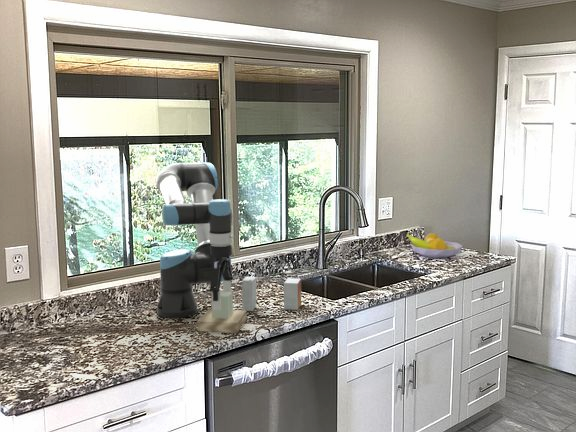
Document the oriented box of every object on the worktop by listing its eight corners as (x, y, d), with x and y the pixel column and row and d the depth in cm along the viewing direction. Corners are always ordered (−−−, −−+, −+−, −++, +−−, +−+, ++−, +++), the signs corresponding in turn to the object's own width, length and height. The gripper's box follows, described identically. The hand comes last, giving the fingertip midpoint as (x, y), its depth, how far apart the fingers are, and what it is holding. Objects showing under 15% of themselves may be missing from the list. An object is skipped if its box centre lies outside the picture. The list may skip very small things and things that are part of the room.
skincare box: (245, 306, 237) (245, 275, 235) (257, 306, 236) (256, 276, 234) (241, 311, 231) (240, 280, 229) (252, 311, 230) (252, 280, 228)
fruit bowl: (467, 253, 330) (468, 232, 328) (452, 263, 307) (452, 241, 306) (417, 248, 345) (418, 228, 343) (399, 257, 322) (400, 236, 320)
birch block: (197, 332, 209) (197, 321, 208) (209, 319, 223) (209, 309, 222) (237, 334, 207) (237, 323, 206) (246, 321, 221) (246, 310, 220)
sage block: (211, 318, 212) (211, 295, 211) (216, 312, 218) (216, 291, 216) (228, 318, 211) (228, 296, 210) (233, 313, 217) (232, 291, 216)
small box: (297, 310, 231) (297, 283, 230) (283, 309, 232) (283, 282, 231) (301, 304, 239) (301, 278, 237) (287, 303, 240) (287, 277, 238)
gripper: (221, 252, 198) (222, 315, 201) (240, 237, 222) (241, 294, 225) (199, 251, 199) (200, 314, 202) (220, 237, 223) (221, 293, 226)
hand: (222, 303), depth 214 cm, fingers open, 13 cm apart
